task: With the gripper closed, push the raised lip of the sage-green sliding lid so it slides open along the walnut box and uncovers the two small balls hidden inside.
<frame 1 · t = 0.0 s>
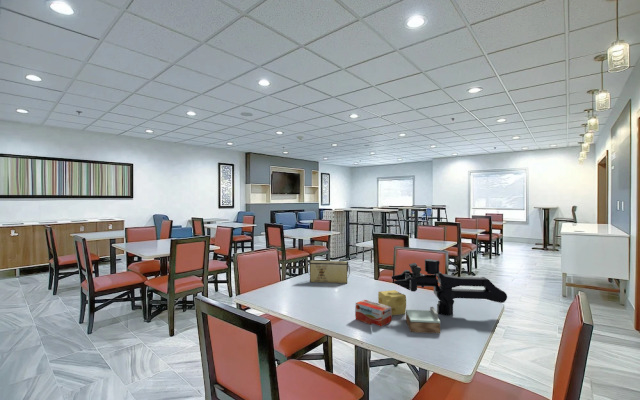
hand: (392, 279, 152), 17 cm above the table, tool horizontal, fingers open, 9 cm apart
cheese: (391, 313, 152), on the table
lid: (422, 313, 133), point 7 cm above the table, slide at 0.0 cm
terracotta ball: (416, 324, 136), point 1 cm above the table, touching walnut box
clutch purse: (328, 282, 211), on the table
walnut box: (422, 328, 133), on the table
medicine box: (372, 322, 142), on the table
slate-blue ball: (428, 328, 131), point 1 cm above the table, touching walnut box
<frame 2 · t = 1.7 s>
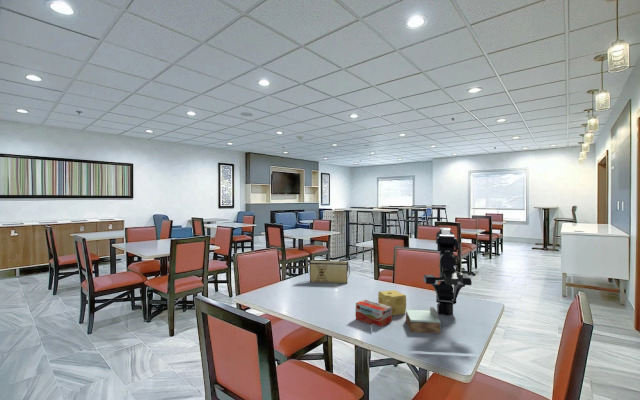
hand: (446, 299, 132), 13 cm above the table, tool pointing down, fingers open, 6 cm apart
nothing on the table moved.
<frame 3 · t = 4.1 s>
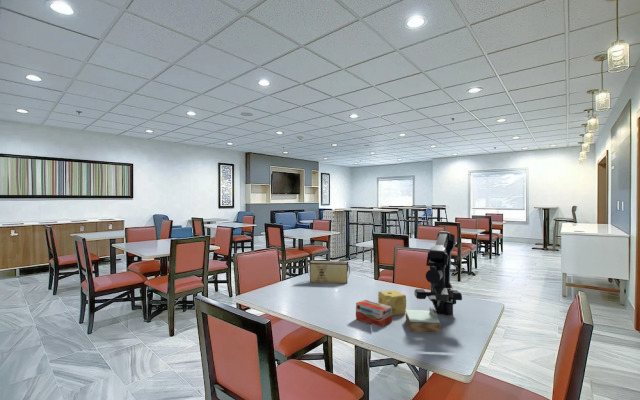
hand: (437, 314, 133), 7 cm above the table, tool pointing down, fingers closed
lid: (421, 313, 133), point 7 cm above the table, slide at 0.3 cm, touching gripper
everything else where it was.
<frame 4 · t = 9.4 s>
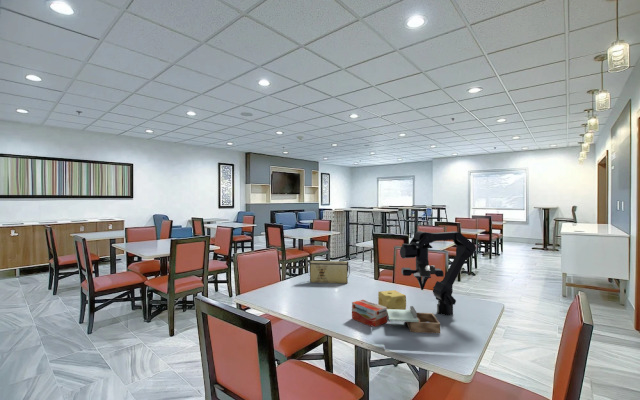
hand: (422, 289, 147), 13 cm above the table, tool pointing down, fingers closed
lid: (401, 312, 134), point 7 cm above the table, slide at 8.7 cm
medicine box: (368, 322, 142), on the table
everything else where it was.
at the end: lid slide at 8.7 cm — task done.
